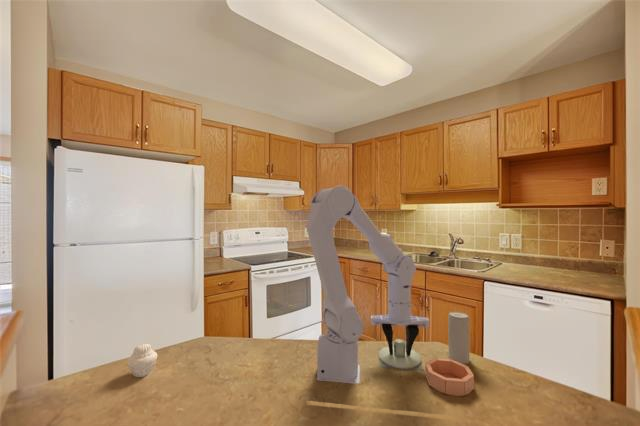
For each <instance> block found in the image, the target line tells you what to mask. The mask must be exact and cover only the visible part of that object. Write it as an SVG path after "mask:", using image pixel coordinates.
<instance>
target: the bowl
mask: <svg viewBox="0 0 640 426" xmlns="http://www.w3.org/2000/svg"><path fill="white" fill-rule="evenodd" d="M425 377H426V378H425V379H426V381H427V383H428V385H429V386H430V387H432V388H433V389H434V390H436V391H437V392H440V393H443V394H445V395H449V396H456V397H457V396H458V397H462V396H466V395H469V394H471V393H472V391H473V390H474V389H475V375H474V374H473V372H472V370H471V369H470V367H469V366H467V364H461V363H459V362H456V361H454V360H451V359H449V358H438V357H437V358H433V359H430V360H428V361H427V362H425Z"/></svg>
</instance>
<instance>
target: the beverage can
mask: <svg viewBox="0 0 640 426" xmlns="http://www.w3.org/2000/svg"><path fill="white" fill-rule="evenodd" d="M447 321H448V328H447V329H448V359H451V360H454V361H456V362H459V363H461V364H464V365H467V364H469V363H470V318H469V315H468V314H467V313H465V312H462V311H450V312H448V319H447Z"/></svg>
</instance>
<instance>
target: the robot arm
mask: <svg viewBox="0 0 640 426" xmlns="http://www.w3.org/2000/svg"><path fill="white" fill-rule="evenodd" d="M309 204H310V209H309V214H308V220H307V222H306V230H307V231H306V232H307V235H308V239H309V243H310V246H311V250H312V254H313V257H314V262H315V266H316V269H317V272H318V276H319V280H320V284H321V288H322V292H323V295H324V300H323V302H322V307H323V313H322V320H323V324H324V325H325V326H326V327H327V330H326V331H327V332H326V333H327V334H320V335H319V336H318V342H317V350H316V351H317V352H316V353H317V357H316V358H317V359H316V363H317V367H316V368H317V369H316V374H317V376H316V380H317V381H321V382H322V381H324V382H333V383H334V382H335V383H344V384H345V383H346V384H355V385H358V384H360V376H361V375H360V372H361V365H360V364H359V356H358V355H359V338H360V337H362V334H363V331H364V320H363V318H362V317H361V315H359V314H358V311H357V309H356V306H355V304H354V302H353V301H352V300H351V299H350V297H349V295H348V290H347V287H346V283H345V279H344V275H343V271H342V267H341V264H340V259H339V256H338V252H337V248H336V245H335V241H334V236H333V232H332V231H333V229H334V228H335V226H336V225H337V223H338V222H339V220H341V219H344V220H345V219H346V220H348V221H349V222H350V223H351V224H352V225H353V226H354V227H355V228H356V229H357V230H358V231H359V232H360V233H361V234H362V235H363V236H364V237H365V238H366V239H367V241H368V248H369V249H370V250H371V252H372V253H373V254H374V255H375V256H376V257H377V259H378V260H379V261H380V262H381V263H382V269H383V271H384V272H386V273H387V314H379V315H376V314H375V315H370V325H371V326H373V327H374V326H375V327H376V326H377V325H379V326H381V328H382V332H383V333H384V336H385V338H386V340H387V345H388V347H389V352H390V355H393V346H394V343H393V341H394V340H393V338H394V337H393V336H394V331H393V326H398V327H405V339H406V340H405V347H406V353H407V356H410V353H411V349H412V348H413V345H414V342H415V340H416V338H417V336H419V333H420V330H419V327H424V328H425V329H428V328H429V329H430V319H429V318H428V317H423V316H416V315H415V316H414V315H412V291H411V290H412V283H413V277H414V275H415V274H416V272H417V266H416V265H415V262H414V260H413V258H412V257H410V256H408V255H406V254H404V251H403V248H401V247H399V246H398V245H397V244H396V242H395V241H394V240H393V239H394V237H393V236H392V235H391V234H388V233H387V232H381V231H379V229H378V228H377V226H376V225H375V223H374V222H373V221H372V220H371V218H370V217H369V216H368V214H367V212H366V211H365V210H364V209H363V206H361V204H360V202H359V198H358V197H357V196H356V195H354V193H353V192H352V191H351V189H350V188H349V187H347V186H345V185H336V186H335V187H331V188H323V189H319V190H318V191H317V192H316V193H315V194H314V196H313V197H312V199H311V200H310V201H309ZM412 350H413V349H412Z"/></svg>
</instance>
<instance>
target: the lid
mask: <svg viewBox="0 0 640 426" xmlns="http://www.w3.org/2000/svg"><path fill="white" fill-rule="evenodd" d="M381 348H382V349H381V350H380V351H379V350H378V351H379V352H378V358H379V361H380V360H381V361H382V362H383V363H385V364H386V365H388V366H391V367H394V368H393V369H400V370H412V369H411V368H415V367H417V366H419V365H420V363H421V364H422V356H421V355H420V353H418V351H417V350H414V349H411V353H410V356H407V353H406V340H404V339H401V338H400V339H399V338H396V339H394V340H393V355H390V352H389V346H385V347H381ZM416 351H417V352H416Z"/></svg>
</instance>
